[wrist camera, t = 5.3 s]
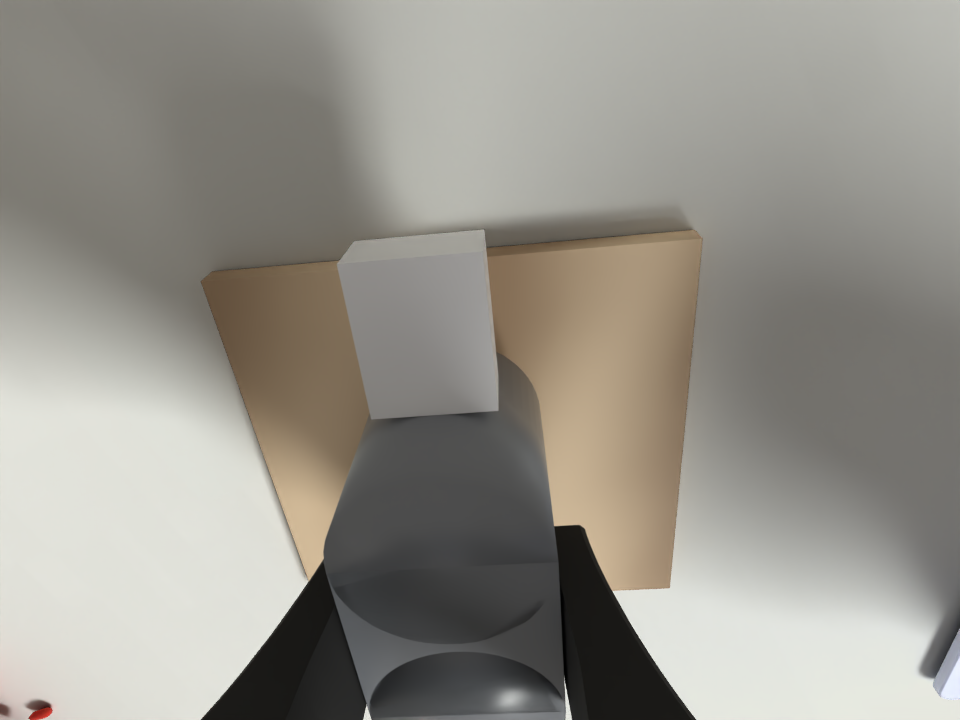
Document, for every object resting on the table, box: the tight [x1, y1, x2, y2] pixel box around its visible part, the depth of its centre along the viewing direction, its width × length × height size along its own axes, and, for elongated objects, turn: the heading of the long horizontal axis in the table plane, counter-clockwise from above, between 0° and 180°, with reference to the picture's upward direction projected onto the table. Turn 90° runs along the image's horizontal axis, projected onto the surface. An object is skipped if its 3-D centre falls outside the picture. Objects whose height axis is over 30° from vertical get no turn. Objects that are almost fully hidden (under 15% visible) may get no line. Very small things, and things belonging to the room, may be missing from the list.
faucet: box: [323, 229, 566, 720], centre depth 12 cm, size 11×4×4 cm, turn 6°
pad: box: [201, 230, 703, 591], centre depth 16 cm, size 11×11×1 cm
